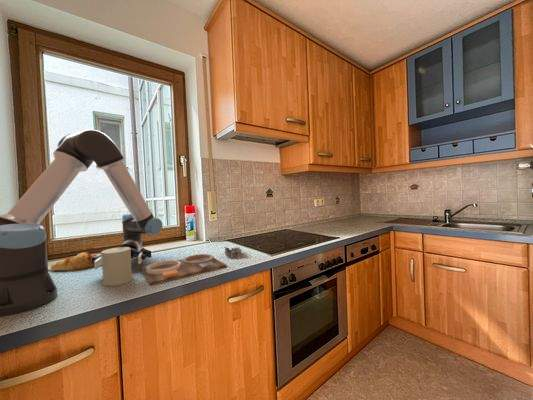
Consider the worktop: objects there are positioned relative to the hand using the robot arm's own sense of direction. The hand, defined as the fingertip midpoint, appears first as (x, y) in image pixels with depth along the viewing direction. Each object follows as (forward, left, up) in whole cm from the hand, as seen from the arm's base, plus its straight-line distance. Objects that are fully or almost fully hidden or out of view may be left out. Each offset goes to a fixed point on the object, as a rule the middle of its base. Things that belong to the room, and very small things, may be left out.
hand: (118, 262), depth 84 cm
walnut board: (+20, -11, -7) cm, 24 cm away
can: (0, +1, -7) cm, 7 cm away
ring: (+13, -8, -6) cm, 17 cm away
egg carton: (+44, -18, -7) cm, 48 cm away
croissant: (+3, +35, -7) cm, 36 cm away
